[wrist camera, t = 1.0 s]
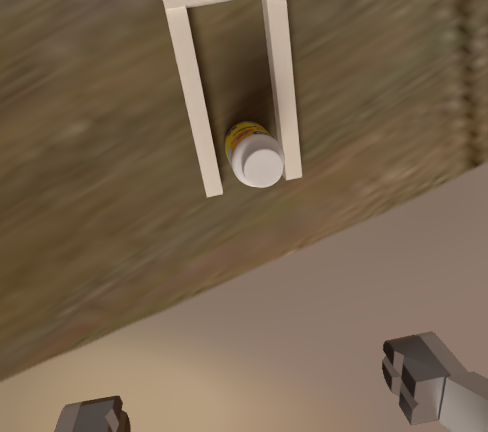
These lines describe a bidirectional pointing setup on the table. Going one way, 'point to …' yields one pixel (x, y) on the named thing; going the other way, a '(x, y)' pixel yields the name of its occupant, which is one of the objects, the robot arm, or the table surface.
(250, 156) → the supplement bottle
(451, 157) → the table surface
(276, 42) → the u rest
